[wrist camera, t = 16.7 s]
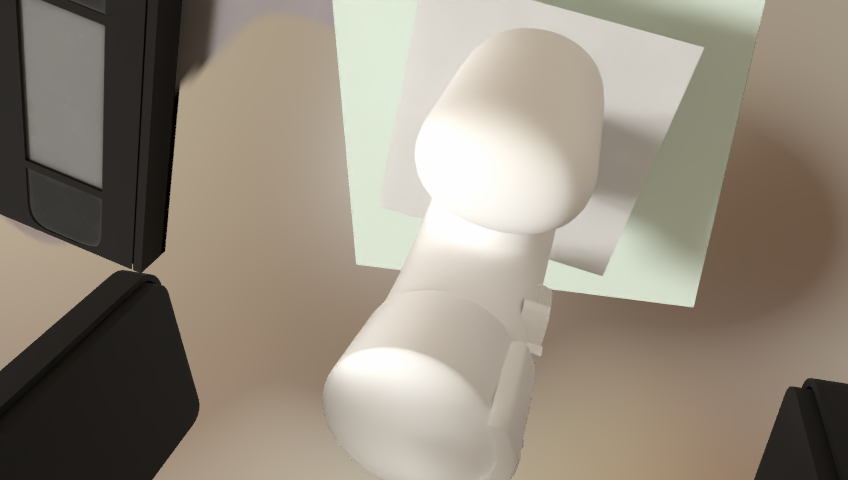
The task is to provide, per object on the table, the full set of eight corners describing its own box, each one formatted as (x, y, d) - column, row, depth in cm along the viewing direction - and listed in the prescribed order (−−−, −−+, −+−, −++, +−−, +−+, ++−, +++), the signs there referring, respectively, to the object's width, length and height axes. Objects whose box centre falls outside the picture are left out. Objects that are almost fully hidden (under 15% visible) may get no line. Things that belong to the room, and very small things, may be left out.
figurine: (404, 184, 25) (184, 541, 12) (463, -91, 20) (181, 55, 7) (594, 243, 24) (560, 684, 12) (709, -27, 19) (865, 259, 6)
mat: (327, -166, 20) (317, -166, 19) (800, -178, 17) (807, -178, 17) (362, 254, 28) (356, 264, 27) (691, 294, 25) (693, 307, 24)
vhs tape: (22, 190, 32) (-10, 209, 30) (1, -141, 24) (-46, -138, 22) (166, 249, 31) (141, 273, 30) (194, -66, 23) (161, -57, 22)
